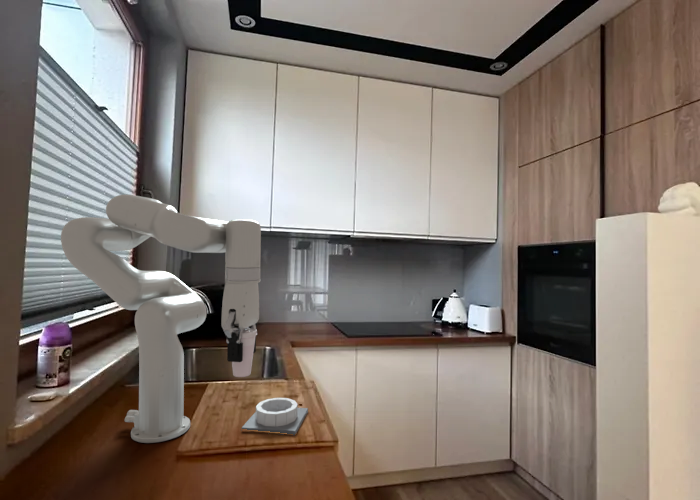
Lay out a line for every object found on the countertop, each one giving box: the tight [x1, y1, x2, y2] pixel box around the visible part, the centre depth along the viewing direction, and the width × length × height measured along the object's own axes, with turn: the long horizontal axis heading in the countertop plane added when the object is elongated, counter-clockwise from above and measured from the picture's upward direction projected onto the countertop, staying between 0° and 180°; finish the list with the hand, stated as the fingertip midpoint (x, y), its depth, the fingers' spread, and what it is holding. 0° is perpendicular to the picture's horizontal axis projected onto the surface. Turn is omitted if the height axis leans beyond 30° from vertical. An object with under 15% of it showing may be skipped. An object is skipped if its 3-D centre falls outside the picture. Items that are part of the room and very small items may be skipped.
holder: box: [241, 397, 309, 436], centre depth 96 cm, size 13×13×4 cm
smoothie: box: [231, 328, 258, 378], centre depth 84 cm, size 6×6×14 cm
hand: (242, 356), depth 84 cm, fingers closed on smoothie, 6 cm apart
